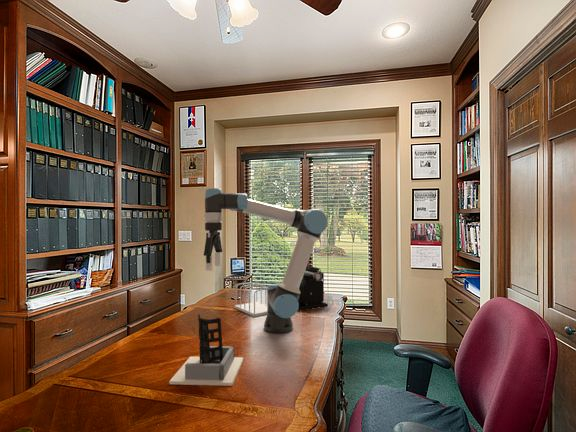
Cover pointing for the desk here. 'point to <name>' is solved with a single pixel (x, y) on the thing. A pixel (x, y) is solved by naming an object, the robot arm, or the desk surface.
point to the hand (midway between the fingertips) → (213, 268)
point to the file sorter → (254, 307)
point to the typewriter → (311, 289)
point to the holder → (205, 341)
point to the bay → (209, 370)
